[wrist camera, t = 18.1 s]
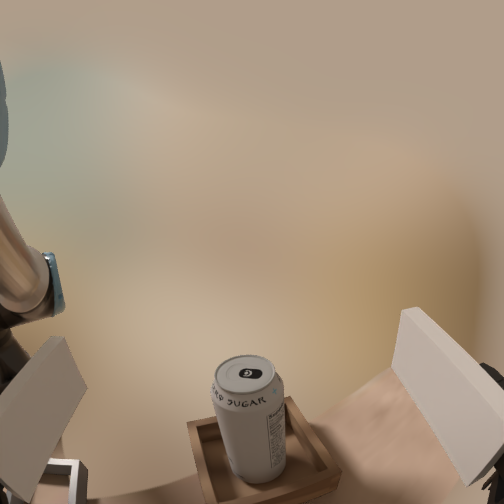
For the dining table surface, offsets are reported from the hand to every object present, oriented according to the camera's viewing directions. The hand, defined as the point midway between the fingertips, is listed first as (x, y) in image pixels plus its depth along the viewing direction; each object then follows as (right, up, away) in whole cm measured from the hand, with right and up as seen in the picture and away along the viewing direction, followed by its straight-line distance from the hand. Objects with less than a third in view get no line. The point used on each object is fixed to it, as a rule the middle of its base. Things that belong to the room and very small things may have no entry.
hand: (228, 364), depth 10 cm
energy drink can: (+2, -20, +16) cm, 26 cm away
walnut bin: (+2, -21, +16) cm, 26 cm away
